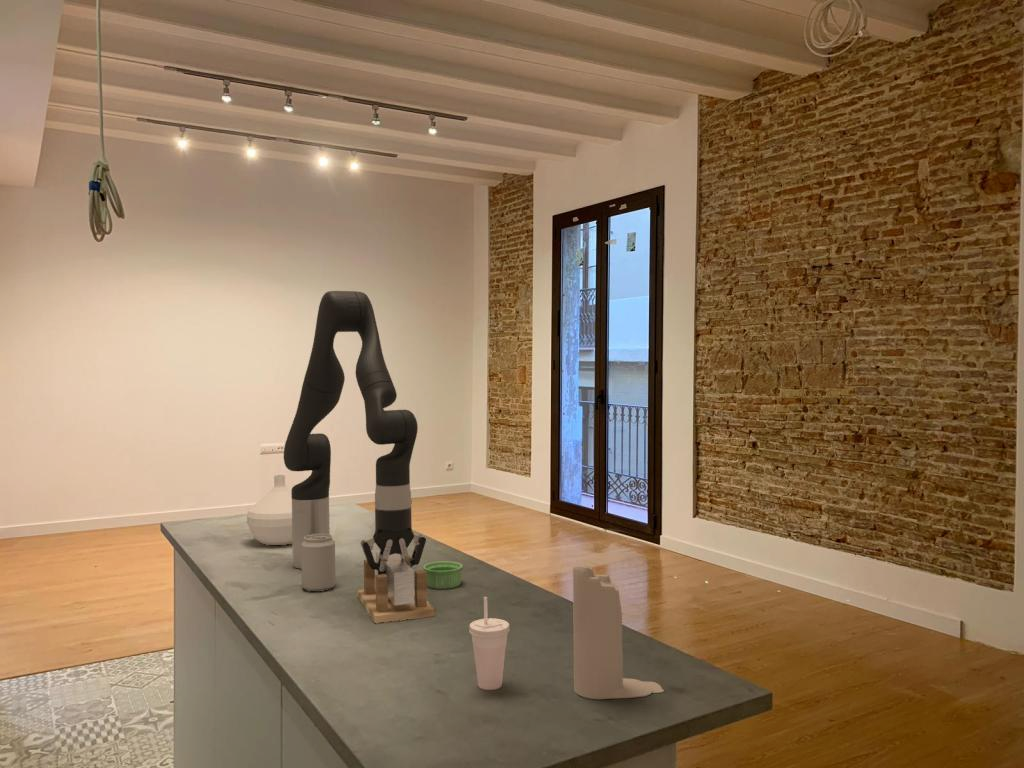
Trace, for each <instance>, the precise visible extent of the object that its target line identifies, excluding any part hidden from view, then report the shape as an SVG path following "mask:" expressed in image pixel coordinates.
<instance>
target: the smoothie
mask: <svg viewBox="0 0 1024 768" xmlns="http://www.w3.org/2000/svg"><path fill="white" fill-rule="evenodd" d="M488 615H489V614H488V596H483V618H479V619H476V620H473V621H471V622H470V624H469V634H470V635H471V641H472V646H473V648H472V649H473V656H474V663H475V671H476V678H477V679H476V680H477V685H478V687H479V688H480V689H482V690H485V691H493V690H497V689H500V688H501V687H502V684H503V675H504V667H505V658H506V651H507V650H506V649H507V641H508V640H507V639H508V634H509V632H510V623H509V622H508V621H506V620H504V619H501V618H495V617H494V618H492V617H490V618H488Z"/></svg>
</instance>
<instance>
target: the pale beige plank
mask: <svg viewBox="0 0 1024 768" xmlns="http://www.w3.org/2000/svg"><path fill="white" fill-rule="evenodd" d="M379 553H380V551H378V552H375V562H377V563H378V560H379ZM412 568H413V567H410V566H409V565H408V564H407V563H406V562H404V561H403V560H402V559H401V556H400V554H392V555H389V557H388V561H387V563H386V567H385V571H386V575H387V576H388V598H389V599H390V600H391V601H392V603H393V604H394V605H402V604H410V603H414V587H415V570H413V569H412ZM376 575H378V570H375V576H376Z"/></svg>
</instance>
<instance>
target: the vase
mask: <svg viewBox="0 0 1024 768" xmlns="http://www.w3.org/2000/svg"><path fill="white" fill-rule="evenodd" d="M273 478H274V480H273V483H274V485H273V487H272V489H271V490H270V491H269V492H268V493H266V494H265V495H264V496H263V497H262V498H261V499H260V500H258V501H257V502H256V503H255V504H254V505H253V506H251V507H249V509H248V511H247V512H246V513H247V514H246V524H247V526H248V528H249V531H250V533H251V535H252V536H253V537H254V539H256V540H257V541H258V542H259V543H261V544H262V545H264V544H265V545H264V546H269V545H282V546H288V545H287V544H289V545H292V497H291V491H292V490H289V488H288V487H287V486H286V476H285V474H275V475H274V477H273Z"/></svg>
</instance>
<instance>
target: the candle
mask: <svg viewBox="0 0 1024 768" xmlns="http://www.w3.org/2000/svg"><path fill="white" fill-rule="evenodd" d="M572 580H573V581H572V589H573V591H572V596H573V600H572V602H573V604H572V605H573V606H572V609H573V611H572V616H573V617H572V618H573V619H572V620H573V621H572V622H573V623H572V624H573V626H572V627H573V628H572V629H573V631H572V632H573V691H574V693H575V694H576V695H579V696H580V697H582V698H585V699H590V700H609V699H612V700H613V699H614V700H615V699H631V698H642V697H647V696H651V694H659V693H663V692H664V691H665V689H663V687H662V686H661V685H660V684H659V683H657V682H655V681H644V680H643V681H642V680H639V679H637V678H626V677H624V671H623V670H624V668H623V664H624V663H623V662H624V661H623V659H624V657H623V613H622V612H623V611H622V607H621V606H622V605H621V598H620V591H619V590H620V589H619V588H618V587H617V585H616V584H615V582H612V580H611V578H610V576H609V575H608V574H595V573H594V570H593V568H592V567H590V566H588V565H581V564H579V563H577V564H574V565H573V567H572Z"/></svg>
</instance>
